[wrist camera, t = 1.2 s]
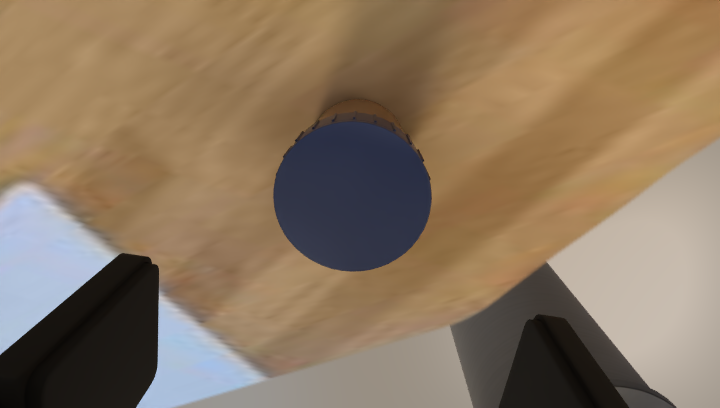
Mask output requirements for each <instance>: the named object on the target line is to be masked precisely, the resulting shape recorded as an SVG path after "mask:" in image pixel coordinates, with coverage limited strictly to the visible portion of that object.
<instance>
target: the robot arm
mask: <svg viewBox="0 0 720 408" xmlns="http://www.w3.org/2000/svg"><path fill="white" fill-rule="evenodd" d="M158 300H159V268H158V266H157V265H155V264H152V262H151V259H150V258H149V257H145V256H139V255H132V254H125V253H122V254H120V255H118V256H117V257H116V258H115V259H114V260H112V261H111V262H110V263H109V264H108V265H106V266H105V267H104V268H103V269H102V270H100V271H99V272H98V273H97V274H96V275H95V276H93V277H92V278H91V279H90V280H89V281H87V282H86V283H85V284H84V285H83V286H81V287H80V288H79V289H78V290H77V291H76V292H74V293H73V294H72V295H71V296H70V297H68V298H67V299H66V300H65V301H64V302H63V303H61V304H60V305H59V306H58V307H57V308H55V309H54V310H53V311H52V312H51V313H49V314H48V315H47V316H46V317H45V318H44V319H42V320H41V321H40V322H39V323H38V324H36V325H35V326H34V327H33V328H32V329H30V330H29V331H28V332H27V333H26V334H25V335H23V336H22V337H21V338H20V339H19V340H17V341H16V342H15V343H14V344H13V345H11V346H10V347H9V348H8V349H7V350H6V351H4V352H3V353H2V354H1V355H0V408H136V407H137V405H138V404H139V402H140V400H141V399H142V397H143V396H144V394H145V393H146V391H147V390H148V388H149V386H150V385H151V383H152V381H153V380H154V377H155V374H156V370H157V362H158ZM499 408H629V407H628V405H627V404H626V403H625V401H624V400H623V398H622V397H621V396H620V394H619V393H618V392H617V390H616V389H615V387H614V386H613V385H612V383H611V382H610V380H609V379H608V378H607V376H606V375H605V373H604V372H603V371H602V369H601V368H600V366H599V365H598V364H597V362H596V361H595V359H594V358H593V357H592V355H591V354H590V352H589V351H588V350H587V348H586V347H585V345H584V344H583V343H582V341H581V340H580V339H579V337H578V336H577V334H576V333H575V332H574V330H573V329H572V327H571V326H570V325H569V323H568V322H567V321H566V320H565V319H564V318H560V317H553V316H546V315H540V314H538V315H536V316H535V318H534V319H533V320H530V319H529V320H528V321H527V322H526V324H525V326H524V329H523V332H522V336H521V339H520V342H519V345H518V348H517V351H516V355H515V358H514V361H513V364H512V367H511V370H510V374H509V377H508V380H507V383H506V386H505V389H504V393H503V396H502V399H501V402H500V405H499Z"/></svg>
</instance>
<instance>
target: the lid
mask: <svg viewBox="0 0 720 408" xmlns="http://www.w3.org/2000/svg"><path fill="white" fill-rule="evenodd" d="M295 141H296V142H295V143H294V145H293V146H291V147H290V148H289V149H288V150H287V152H286V153H285V154H284V156H283V158H284V159H283V161H282V163H281V165H280V167H279V169H278V172H277V173H276V178H275V184H274V196H273V199H274V208H275V212H276V216H277V219H278V222H279V224H280V227H281V228H282V230H283V232H284V234H285V235H286V237H287V238H288V239H289V241H290V242H291V243H292V244H293V245H294V247H295V248H296V249H297V250H298V251H300V252H301V253H302V254H303V255H305V256H306V257H308V258H309V259H311V260H312V261H314V262H316V263H318V264H320V265H322V266H325V267H328V268H331V269H336V270H341V271H365V270H371V269H375V268H378V267H381V266H384V265H386V264H389V263H390V262H392V261H394V260H396V259H397V258H399V257H400V256H402V255H403V254H404V253H406V252H407V251H408V250H409V249H410V248H411V247H412V246H413V245H414V243H415V242H416V241H417V240H418V238H419V237H420V235H421V233H422V232H423V230H424V228H425V225H426V223H427V221H428V217H429V214H430V208H431V200H432V197H431V186H430V181H429V180H430V177H429V174H428V172H427V170H426V168H425V166H424V164H423V161H424V159H423V157H422V155H421V153H420V151H419V149H418V150H417V149H416V147H415V146H414V144H413V143H412V141H411V139H410V137H409V135H408V134H407V135H406V134H405V133H404V132H403V131H402V130H400V129H399V128H398V127H397V126H395V124H394V122H392V123H391V122H389V121H387V120H385V119H383V118H380V117H377V116H376V114H374V115H371V114H366V113H357V111H354V112H353V113H342V114H337V113H335V114H334V115H333V116H330V117H327V118H325V119H323V120H320V121H319V120H317V121H316V122H315V124H314V125H312V126H311V127H309V128H308V129H307V130H306V131H305V132H303V131H302V132H301V134H300V135H299V136H298V137H297V139H296V140H295Z"/></svg>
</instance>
